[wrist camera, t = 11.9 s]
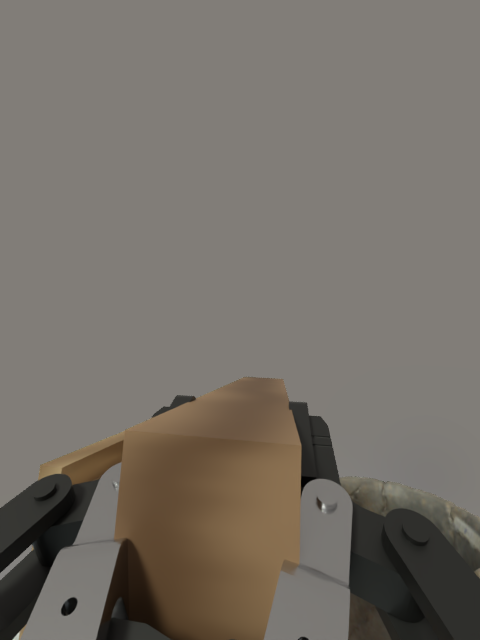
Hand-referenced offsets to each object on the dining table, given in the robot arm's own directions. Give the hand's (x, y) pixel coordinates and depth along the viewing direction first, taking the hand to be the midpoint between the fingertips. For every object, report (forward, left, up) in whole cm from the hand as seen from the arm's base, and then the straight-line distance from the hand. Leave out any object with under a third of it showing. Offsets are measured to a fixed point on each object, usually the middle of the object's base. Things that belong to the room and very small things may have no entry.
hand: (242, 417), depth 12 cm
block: (0, +6, -3) cm, 7 cm away
